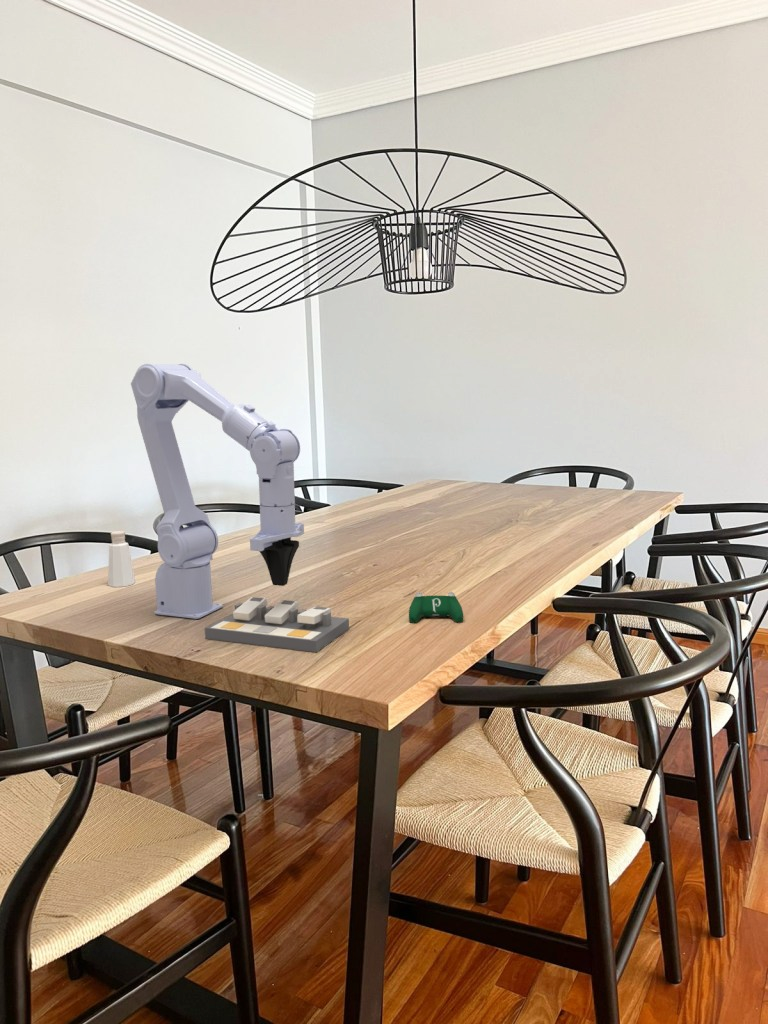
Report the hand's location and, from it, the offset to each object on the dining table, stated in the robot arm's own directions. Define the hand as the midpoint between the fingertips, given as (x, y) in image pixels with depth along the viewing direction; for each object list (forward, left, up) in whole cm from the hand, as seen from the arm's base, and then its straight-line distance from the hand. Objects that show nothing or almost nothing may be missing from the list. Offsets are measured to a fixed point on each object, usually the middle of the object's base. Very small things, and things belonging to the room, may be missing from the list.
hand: (279, 584), depth 132 cm
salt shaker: (-45, +14, -7) cm, 48 cm away
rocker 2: (+2, -2, -4) cm, 5 cm away
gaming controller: (+23, +12, -8) cm, 27 cm away
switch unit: (+2, -4, -7) cm, 8 cm away
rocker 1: (-4, -2, -4) cm, 6 cm away
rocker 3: (+8, -2, -4) cm, 9 cm away
